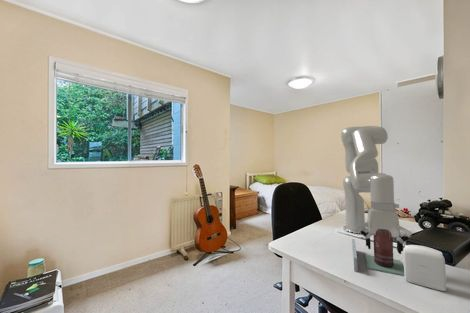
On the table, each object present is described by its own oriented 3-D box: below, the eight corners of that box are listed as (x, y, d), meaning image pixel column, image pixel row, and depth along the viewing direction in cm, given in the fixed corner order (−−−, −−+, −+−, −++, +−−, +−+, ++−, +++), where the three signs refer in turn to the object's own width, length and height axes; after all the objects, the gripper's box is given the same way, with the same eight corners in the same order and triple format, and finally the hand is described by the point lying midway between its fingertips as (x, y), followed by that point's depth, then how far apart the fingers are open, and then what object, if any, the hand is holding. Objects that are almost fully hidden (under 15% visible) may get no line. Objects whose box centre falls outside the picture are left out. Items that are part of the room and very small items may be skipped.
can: (386, 269, 76) (384, 231, 77) (370, 261, 83) (369, 226, 83) (398, 267, 78) (397, 229, 78) (382, 259, 84) (381, 224, 84)
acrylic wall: (352, 250, 94) (352, 239, 94) (354, 250, 94) (354, 239, 94) (354, 271, 77) (354, 257, 77) (357, 271, 76) (357, 258, 76)
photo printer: (403, 281, 70) (402, 244, 70) (404, 276, 73) (403, 240, 73) (447, 294, 63) (445, 253, 63) (445, 287, 66) (444, 248, 67)
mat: (364, 255, 89) (364, 254, 89) (399, 261, 83) (399, 260, 83) (367, 268, 78) (367, 267, 78) (408, 276, 72) (408, 275, 73)
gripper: (407, 206, 80) (409, 250, 80) (356, 202, 88) (357, 242, 88) (413, 210, 74) (415, 258, 73) (357, 206, 82) (358, 249, 81)
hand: (383, 250), depth 81 cm, fingers open, 9 cm apart
